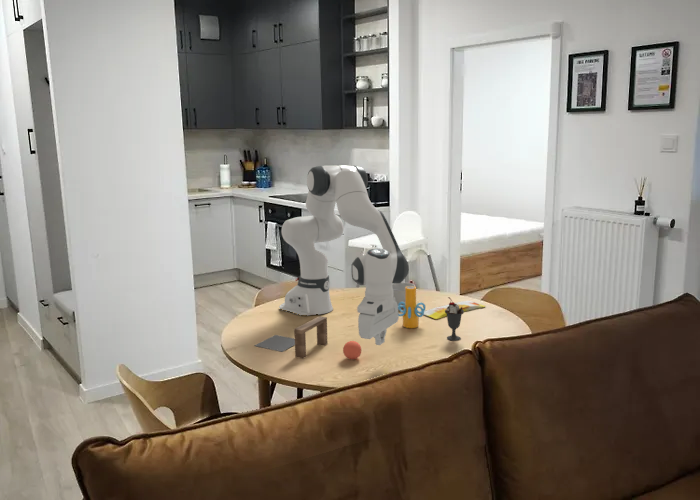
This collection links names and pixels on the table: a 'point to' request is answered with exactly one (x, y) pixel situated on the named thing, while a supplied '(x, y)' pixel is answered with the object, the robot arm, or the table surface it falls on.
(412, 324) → the cylinder
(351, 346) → the ball
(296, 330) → the bridge
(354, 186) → the robot arm
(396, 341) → the table surface
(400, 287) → the teacup
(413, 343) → the table surface
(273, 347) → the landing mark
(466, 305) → the food package
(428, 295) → the table surface
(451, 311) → the sundae
